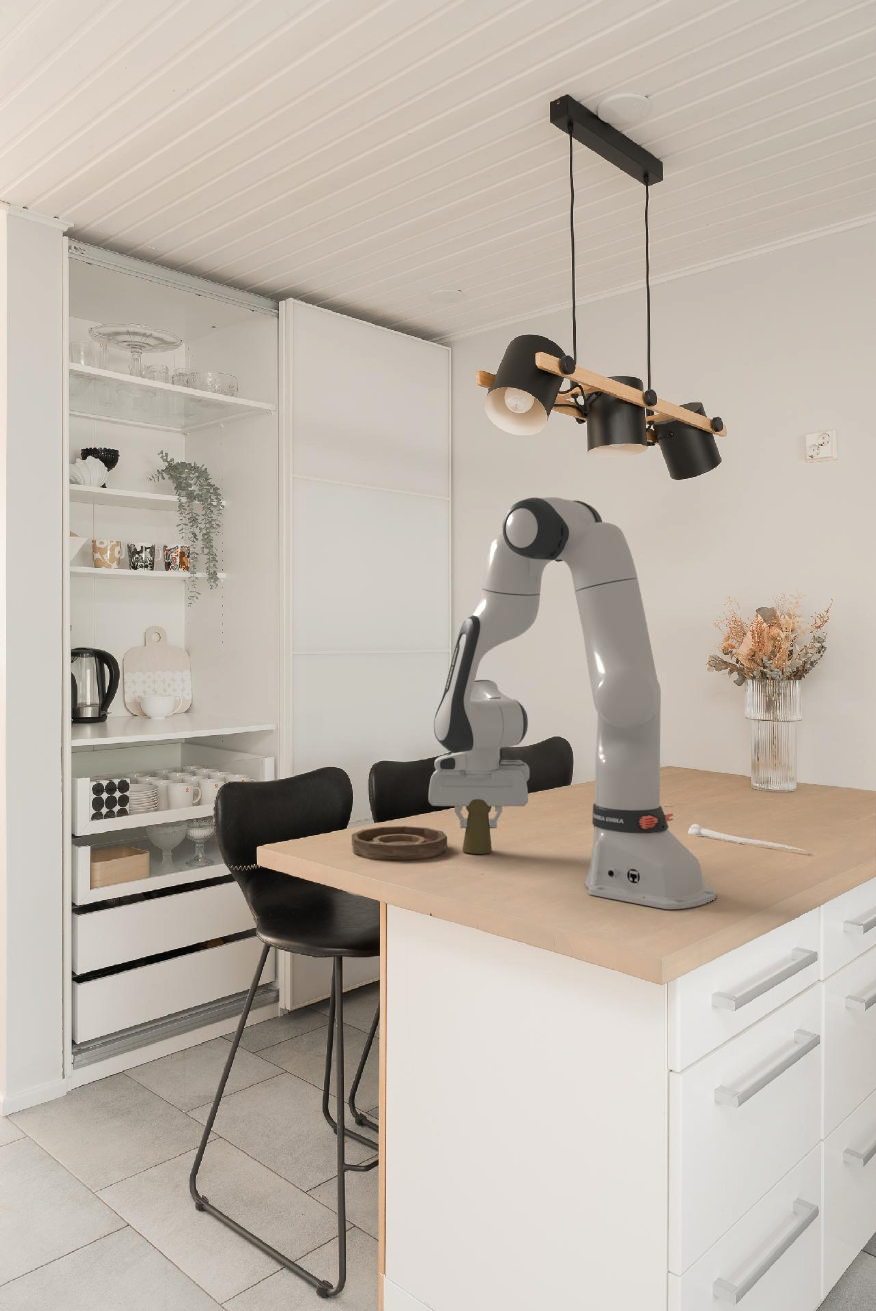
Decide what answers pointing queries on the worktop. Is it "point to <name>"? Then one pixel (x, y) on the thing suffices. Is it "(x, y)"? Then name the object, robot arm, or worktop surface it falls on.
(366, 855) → the tray
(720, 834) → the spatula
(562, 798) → the worktop surface
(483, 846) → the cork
